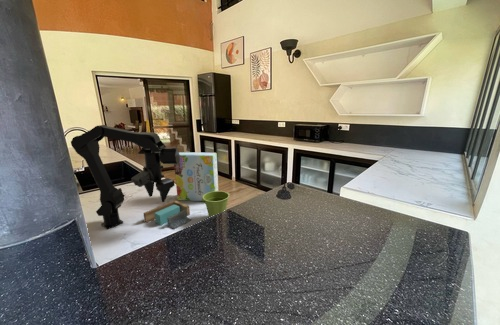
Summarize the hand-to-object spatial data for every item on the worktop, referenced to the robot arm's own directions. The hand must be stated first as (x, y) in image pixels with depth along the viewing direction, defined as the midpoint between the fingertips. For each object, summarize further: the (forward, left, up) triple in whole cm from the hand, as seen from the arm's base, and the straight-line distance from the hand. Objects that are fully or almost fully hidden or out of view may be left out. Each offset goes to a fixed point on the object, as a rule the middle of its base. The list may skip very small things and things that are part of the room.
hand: (156, 199), depth 90 cm
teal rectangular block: (+1, +4, -12) cm, 12 cm away
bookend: (+8, +5, -11) cm, 15 cm away
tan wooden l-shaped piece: (+1, +4, -11) cm, 12 cm away
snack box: (-6, +27, -12) cm, 30 cm away
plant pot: (+18, +17, -12) cm, 28 cm away
